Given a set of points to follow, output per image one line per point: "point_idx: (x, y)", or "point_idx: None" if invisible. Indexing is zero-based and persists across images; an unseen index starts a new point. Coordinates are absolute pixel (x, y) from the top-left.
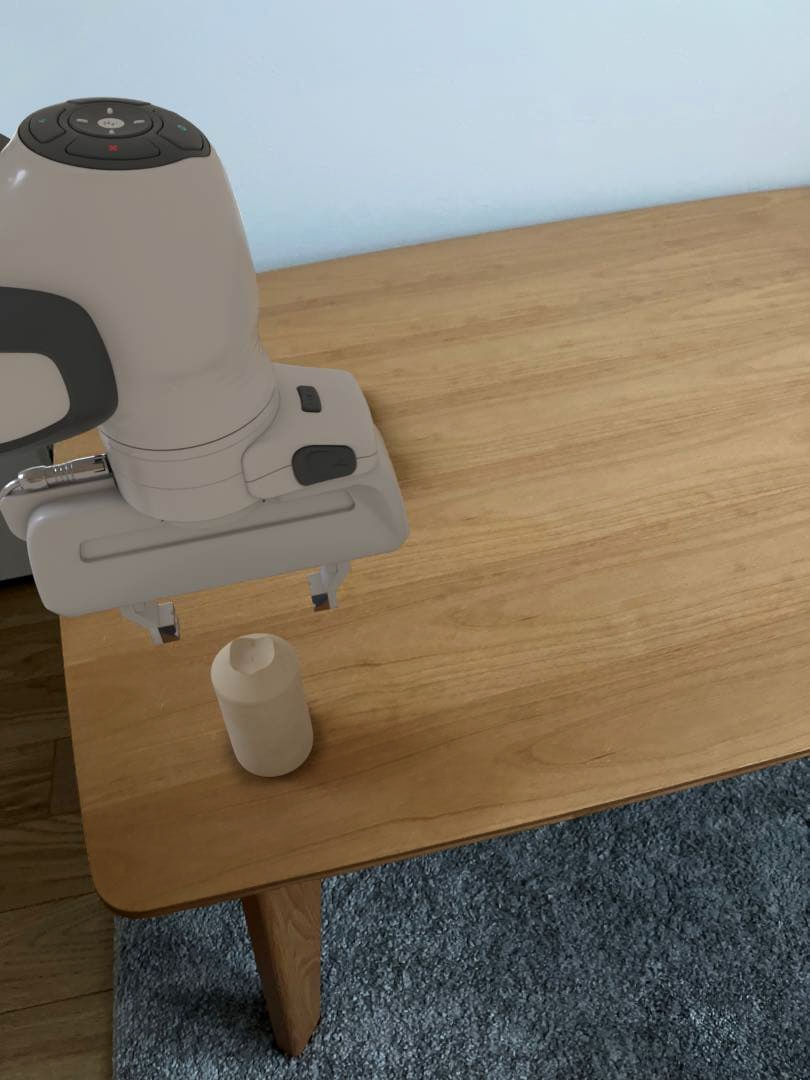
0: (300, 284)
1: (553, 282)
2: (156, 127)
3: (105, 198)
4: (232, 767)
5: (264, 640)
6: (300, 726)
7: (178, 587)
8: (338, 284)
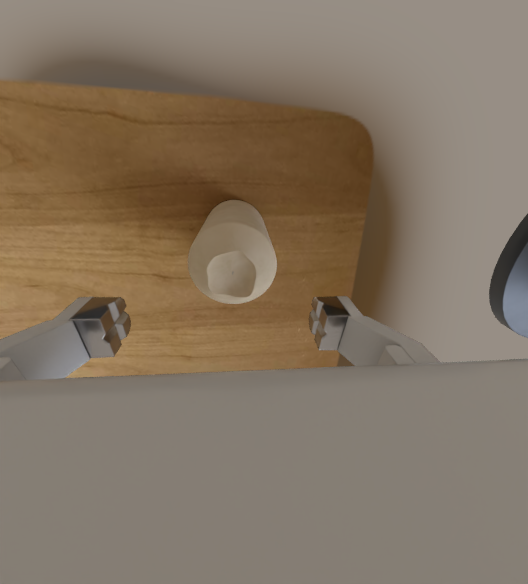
0: None
1: None
2: None
3: None
4: (268, 218)
5: (217, 290)
6: (207, 218)
7: (350, 392)
8: None
